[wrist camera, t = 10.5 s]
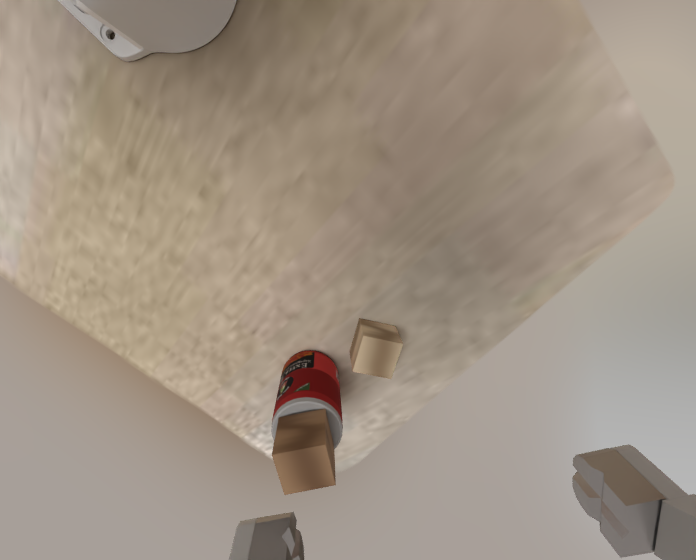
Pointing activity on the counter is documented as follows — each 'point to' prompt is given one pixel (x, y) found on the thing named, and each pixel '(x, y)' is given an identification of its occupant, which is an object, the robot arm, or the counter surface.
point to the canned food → (310, 390)
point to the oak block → (375, 348)
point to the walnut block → (304, 452)
